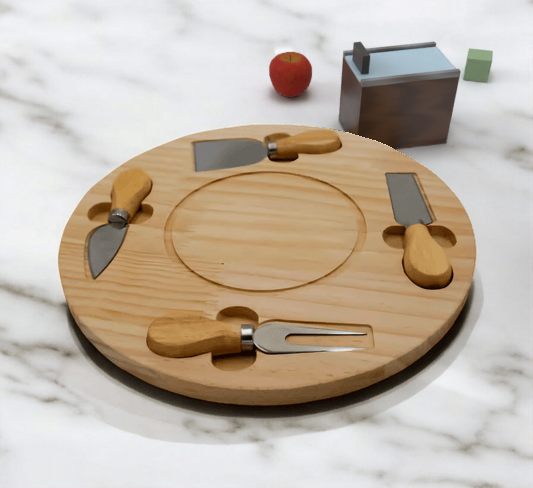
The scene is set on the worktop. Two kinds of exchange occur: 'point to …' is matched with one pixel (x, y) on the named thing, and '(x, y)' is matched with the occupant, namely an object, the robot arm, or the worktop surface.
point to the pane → (396, 62)
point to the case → (398, 104)
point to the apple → (290, 73)
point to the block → (478, 65)
